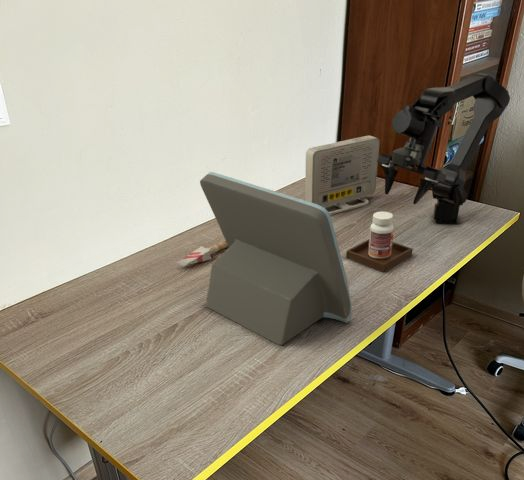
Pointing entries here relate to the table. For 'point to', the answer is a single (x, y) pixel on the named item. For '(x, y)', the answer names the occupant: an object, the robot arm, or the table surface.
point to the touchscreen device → (274, 260)
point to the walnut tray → (362, 257)
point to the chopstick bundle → (202, 254)
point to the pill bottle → (381, 235)
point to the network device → (342, 172)
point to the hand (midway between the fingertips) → (400, 199)
